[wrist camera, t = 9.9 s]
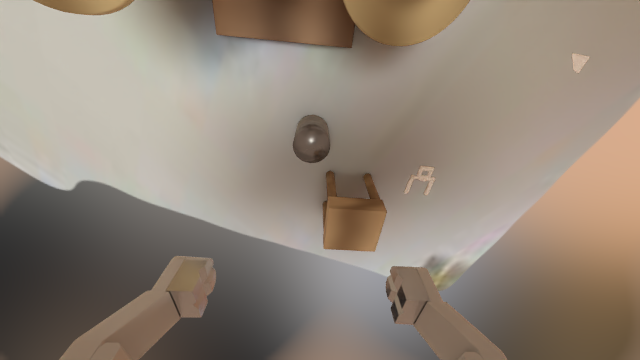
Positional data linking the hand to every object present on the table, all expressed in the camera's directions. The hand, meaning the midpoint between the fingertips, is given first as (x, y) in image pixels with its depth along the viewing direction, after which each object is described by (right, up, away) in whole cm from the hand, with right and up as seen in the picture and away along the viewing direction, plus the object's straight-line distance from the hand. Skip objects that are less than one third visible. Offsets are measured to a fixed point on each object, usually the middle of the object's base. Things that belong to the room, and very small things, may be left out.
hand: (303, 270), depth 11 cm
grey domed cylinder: (0, +10, +16) cm, 18 cm away
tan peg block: (+4, +3, +20) cm, 21 cm away
